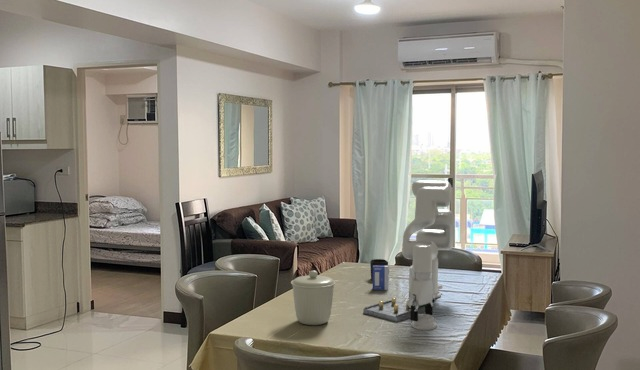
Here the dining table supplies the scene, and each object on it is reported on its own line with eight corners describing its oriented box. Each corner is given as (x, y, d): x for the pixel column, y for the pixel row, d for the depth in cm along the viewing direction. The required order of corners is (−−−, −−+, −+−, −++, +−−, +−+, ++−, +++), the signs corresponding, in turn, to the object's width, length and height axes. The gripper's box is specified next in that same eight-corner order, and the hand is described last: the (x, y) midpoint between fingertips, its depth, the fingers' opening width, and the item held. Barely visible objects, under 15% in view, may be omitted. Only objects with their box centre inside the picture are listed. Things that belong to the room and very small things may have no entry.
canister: (320, 331, 241) (320, 277, 240) (282, 323, 251) (282, 272, 250) (343, 319, 257) (343, 269, 255) (306, 313, 266) (306, 264, 265)
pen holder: (391, 278, 334) (391, 260, 334) (383, 282, 326) (383, 263, 326) (375, 276, 339) (375, 258, 339) (367, 279, 331) (367, 261, 331)
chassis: (392, 304, 281) (392, 293, 280) (425, 312, 268) (426, 301, 268) (363, 313, 267) (363, 301, 266) (396, 321, 254) (396, 309, 253)
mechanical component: (433, 322, 253) (409, 323, 253) (433, 312, 253) (409, 312, 252) (439, 330, 244) (414, 330, 243) (439, 319, 243) (414, 319, 243)
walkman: (372, 289, 309) (372, 265, 308) (372, 288, 312) (372, 264, 311) (388, 290, 309) (388, 266, 308) (388, 288, 311) (388, 265, 310)
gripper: (427, 271, 256) (426, 312, 257) (401, 277, 244) (400, 320, 245) (442, 274, 251) (441, 315, 252) (416, 280, 239) (416, 324, 240)
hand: (421, 318), depth 249 cm, fingers open, 9 cm apart
